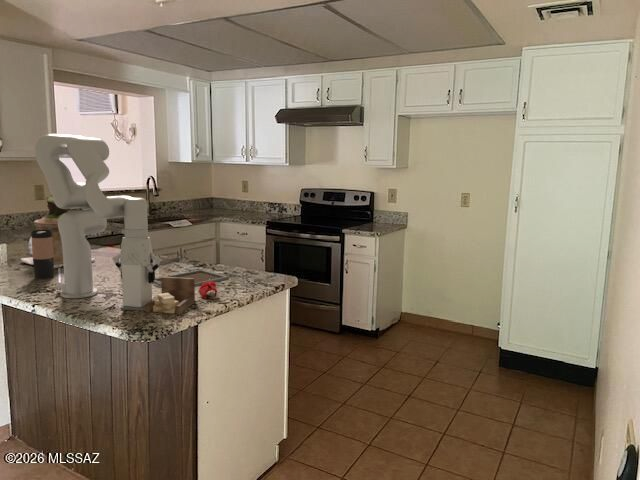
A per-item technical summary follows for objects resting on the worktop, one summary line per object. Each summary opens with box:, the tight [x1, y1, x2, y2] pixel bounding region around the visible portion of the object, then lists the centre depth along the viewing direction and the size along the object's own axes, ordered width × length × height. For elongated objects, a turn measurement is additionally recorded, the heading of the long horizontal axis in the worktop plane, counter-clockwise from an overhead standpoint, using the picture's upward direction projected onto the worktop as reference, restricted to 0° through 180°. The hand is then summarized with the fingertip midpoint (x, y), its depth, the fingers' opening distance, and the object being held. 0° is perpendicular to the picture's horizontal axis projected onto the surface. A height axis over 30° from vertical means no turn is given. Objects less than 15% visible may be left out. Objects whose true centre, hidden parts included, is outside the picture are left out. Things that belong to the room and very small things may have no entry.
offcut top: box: [157, 293, 175, 304], centre depth 166 cm, size 6×4×2 cm, turn 37°
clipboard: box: [152, 269, 230, 289], centre depth 208 cm, size 19×2×30 cm
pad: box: [120, 305, 145, 311], centre depth 172 cm, size 9×9×1 cm
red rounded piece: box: [198, 282, 218, 299], centre depth 186 cm, size 8×6×6 cm
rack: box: [145, 276, 196, 316], centre depth 171 cm, size 12×15×9 cm
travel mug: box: [30, 229, 55, 280], centre depth 205 cm, size 8×8×20 cm
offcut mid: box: [155, 299, 180, 310], centre depth 167 cm, size 8×4×2 cm, turn 62°
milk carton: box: [121, 253, 153, 307], centre depth 170 cm, size 7×7×19 cm
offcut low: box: [153, 306, 176, 314], centre depth 167 cm, size 8×4×2 cm, turn 79°
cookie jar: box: [20, 195, 96, 269], centre depth 232 cm, size 25×25×32 cm
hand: (138, 281), depth 170 cm, fingers open, 9 cm apart
